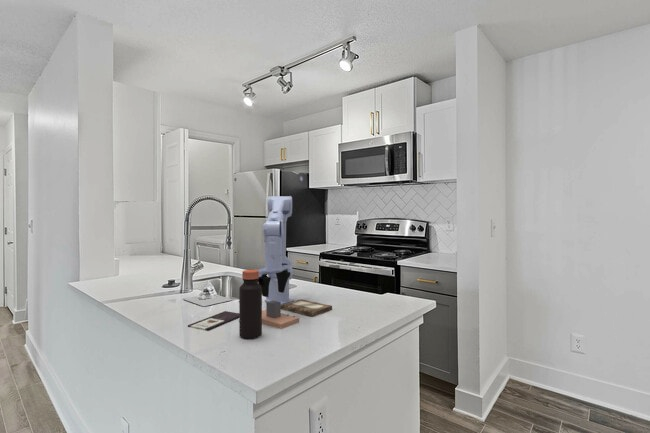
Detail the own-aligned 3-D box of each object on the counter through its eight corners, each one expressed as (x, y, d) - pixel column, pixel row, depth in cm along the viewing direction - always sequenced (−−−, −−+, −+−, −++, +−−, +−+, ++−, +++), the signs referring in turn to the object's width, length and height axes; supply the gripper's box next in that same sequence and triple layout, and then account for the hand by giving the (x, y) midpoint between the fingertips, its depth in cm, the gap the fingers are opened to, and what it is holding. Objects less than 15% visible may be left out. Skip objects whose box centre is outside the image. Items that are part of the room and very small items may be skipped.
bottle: (235, 335, 112) (235, 270, 111) (253, 330, 116) (253, 268, 116) (247, 341, 107) (247, 273, 106) (266, 335, 112) (266, 271, 111)
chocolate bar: (244, 314, 132) (208, 329, 116) (244, 316, 132) (208, 332, 116) (225, 311, 136) (187, 325, 119) (225, 313, 136) (187, 328, 119)
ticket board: (280, 309, 140) (280, 304, 140) (301, 302, 150) (301, 298, 149) (312, 317, 130) (312, 312, 130) (332, 309, 140) (332, 305, 140)
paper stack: (180, 313, 135) (180, 311, 135) (151, 301, 152) (151, 299, 152) (233, 301, 153) (233, 299, 153) (202, 291, 169) (202, 290, 169)
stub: (248, 319, 127) (248, 301, 127) (267, 313, 135) (267, 296, 134) (280, 328, 118) (280, 309, 117) (299, 321, 125) (299, 303, 125)
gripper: (265, 258, 117) (265, 300, 118) (296, 254, 129) (296, 292, 129) (251, 256, 122) (251, 296, 122) (281, 252, 133) (281, 289, 133)
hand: (273, 294), depth 126 cm, fingers open, 7 cm apart
